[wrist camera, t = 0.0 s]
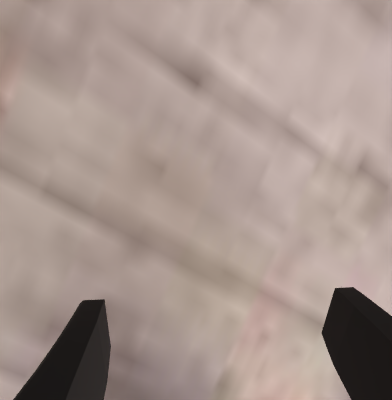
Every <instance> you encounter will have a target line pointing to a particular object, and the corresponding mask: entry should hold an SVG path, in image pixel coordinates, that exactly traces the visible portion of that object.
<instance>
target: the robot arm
mask: <svg viewBox="0 0 392 400" xmlns="http://www.w3.org/2000/svg"><path fill="white" fill-rule="evenodd" d="M322 335H323V338H324V341H325V344H326V347H327V349H328V352H329V354H330V357H331V360H332V362H333V365H334V367H335V369H336V371H337V373H338V375H339V377H340V379H341V381H342V382H343V384H344V386H345V388H346V390H347V392H348V394H349V396H350V398H351V400H392V316H391V315H389V314H388V313H387V312H386V311H384V310H383V309H382V308H380V307H379V306H378V305H376V304H375V303H374V302H373V301H371V300H370V299H369V298H367V297H366V296H365V295H363V294H362V293H361V292H359V291H358V290H356V289H355V288H354V287H349V288H335V290H334V294H333V297H332V300H331V303H330V307H329V310H328V313H327V317H326V320H325V323H324V327H323V330H322ZM110 349H111V344H110V337H109V330H108V322H107V315H106V308H105V300H104V299H103V300H83V301H82V302H81V303H80V304H79V306H78V308H77V309H76V311H75V313H74V314H73V316H72V318H71V319H70V321H69V322H68V324H67V326H66V327H65V329H64V330H63V332H62V333H61V335H60V336H59V338H58V339H57V341H56V342H55V344H54V345H53V347H52V348H51V350H50V351H49V352H48V354H47V355H46V357H45V358H44V360H43V361H42V362H41V364H40V365H39V367H38V368H37V369H36V371H35V372H34V373H33V375H32V376H31V377H30V379H29V380H28V381H27V383H26V384H25V385H24V386H23V388H22V389H21V390H20V392H19V393H18V394H17V396H16V397H15V398H14V399H13V400H104V395H105V390H106V385H107V378H108V369H109V359H110Z"/></svg>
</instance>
